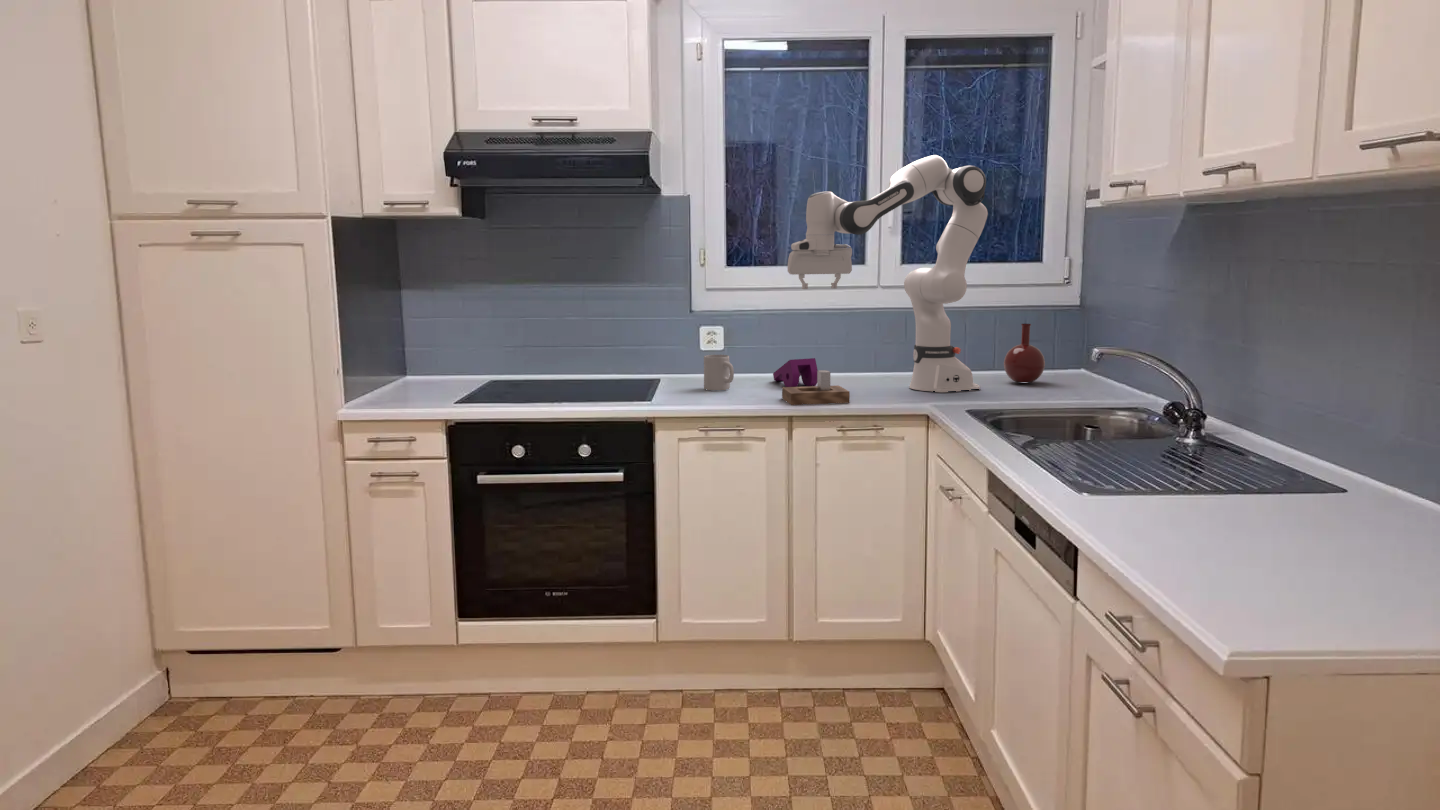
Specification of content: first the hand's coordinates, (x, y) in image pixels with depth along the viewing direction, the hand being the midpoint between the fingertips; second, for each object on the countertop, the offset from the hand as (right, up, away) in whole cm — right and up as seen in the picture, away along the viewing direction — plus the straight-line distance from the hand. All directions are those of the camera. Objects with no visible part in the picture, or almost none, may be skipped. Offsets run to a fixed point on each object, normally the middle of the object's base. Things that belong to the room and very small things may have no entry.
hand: (819, 288), depth 310 cm
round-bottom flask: (+71, -30, +21) cm, 79 cm away
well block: (-2, -35, -10) cm, 37 cm away
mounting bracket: (-7, -30, +23) cm, 39 cm away
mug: (-31, -32, +13) cm, 46 cm away
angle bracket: (-2, -35, -9) cm, 37 cm away
